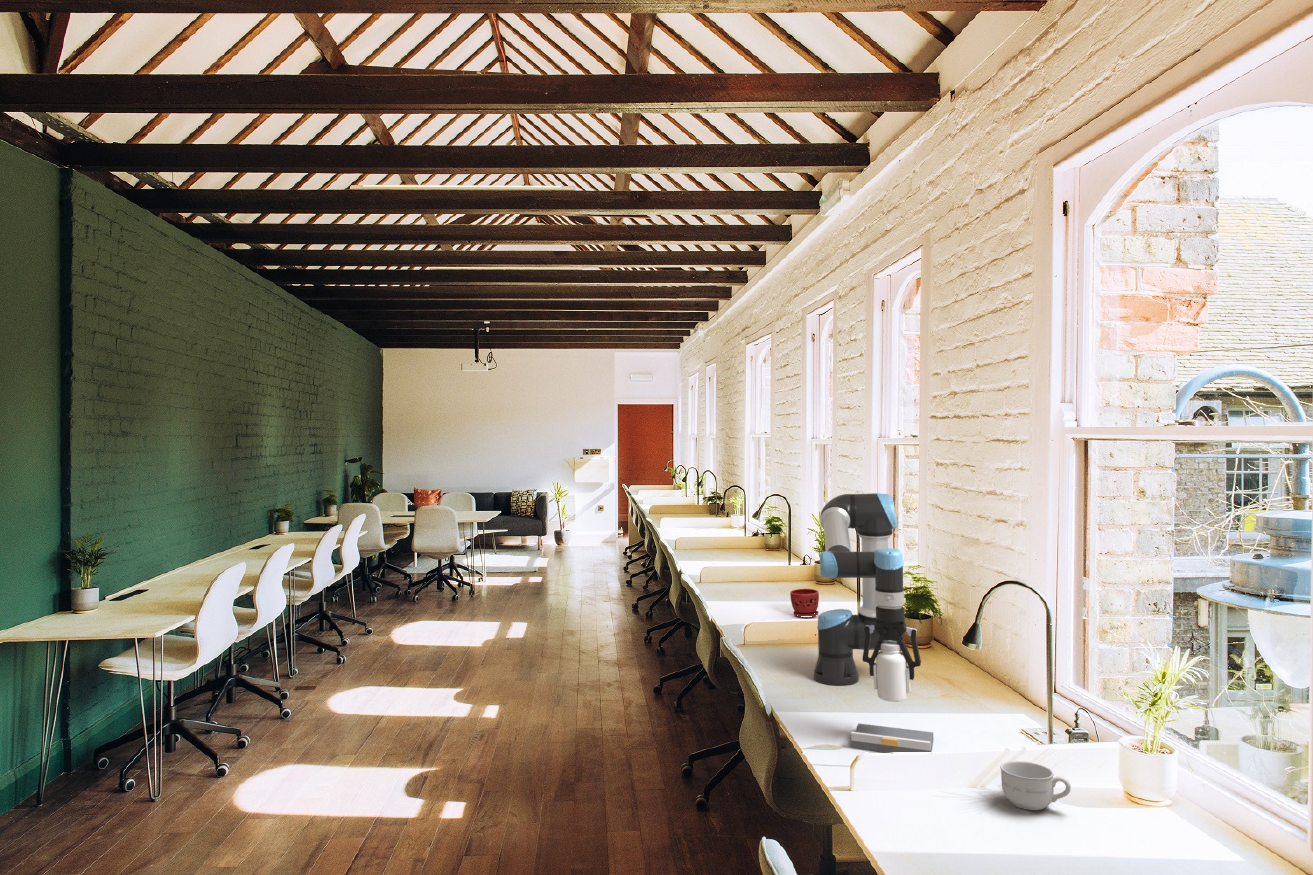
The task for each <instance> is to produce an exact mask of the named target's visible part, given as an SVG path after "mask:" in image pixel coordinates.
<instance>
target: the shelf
mask: <svg viewBox="0 0 1313 875" xmlns="http://www.w3.org/2000/svg"><path fill="white" fill-rule="evenodd" d="M850 739H851V740H850V742H851V743H850V745H851V746H850V747H851V749H857V750H865V751H871V752H872V751H873V752H878V753H879V752H880V753H886V752H932V751H933V747H934V746H933V745H934V732H933V731H925V730H916V729H909V728H908V729H907V728H901V727H890V726H881V725H874V724H868V723H860V722H859V723H858V724H857V725H856V728H855V731H851V732H850ZM932 753H933V752H932Z"/></svg>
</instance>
